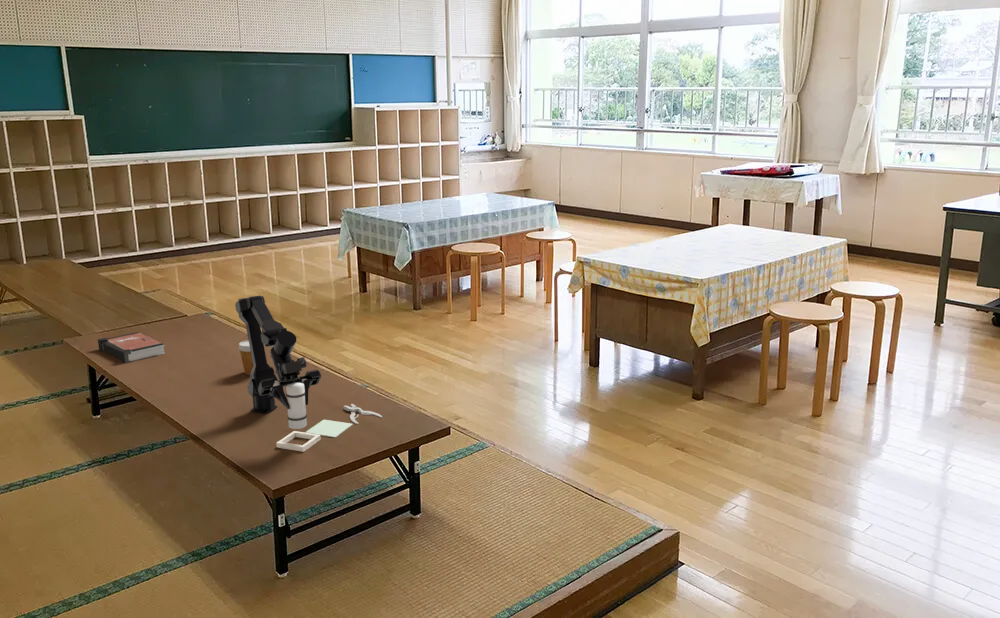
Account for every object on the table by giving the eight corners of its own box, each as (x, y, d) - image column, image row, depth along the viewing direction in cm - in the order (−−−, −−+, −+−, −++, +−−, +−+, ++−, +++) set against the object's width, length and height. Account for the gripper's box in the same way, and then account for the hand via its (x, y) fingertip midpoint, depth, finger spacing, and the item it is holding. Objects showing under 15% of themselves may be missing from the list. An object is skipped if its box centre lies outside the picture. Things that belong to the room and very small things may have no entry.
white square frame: (276, 447, 248) (276, 442, 248) (294, 435, 257) (294, 430, 257) (303, 451, 245) (303, 447, 245) (320, 439, 254) (320, 435, 253)
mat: (305, 433, 259) (305, 432, 259) (323, 420, 269) (323, 419, 269) (335, 437, 255) (335, 436, 255) (353, 424, 265) (353, 423, 265)
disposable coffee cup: (269, 368, 319) (267, 339, 316) (260, 376, 310) (257, 346, 307) (246, 367, 320) (243, 338, 317) (236, 376, 311) (233, 346, 308)
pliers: (356, 421, 265) (335, 407, 276) (357, 425, 265) (335, 412, 277) (382, 413, 271) (360, 401, 282) (383, 418, 271) (360, 405, 283)
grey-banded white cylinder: (284, 427, 248) (281, 387, 244) (295, 420, 253) (292, 381, 250) (300, 430, 246) (297, 390, 243) (310, 423, 251) (308, 383, 248)
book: (167, 354, 338) (166, 343, 337) (125, 364, 326) (124, 352, 324) (140, 341, 355) (138, 330, 354) (99, 350, 343) (97, 339, 342)
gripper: (258, 355, 241) (272, 401, 236) (317, 344, 252) (333, 388, 246) (251, 372, 250) (266, 417, 244) (309, 362, 260) (324, 404, 254)
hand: (298, 406), depth 247 cm, fingers closed on grey-banded white cylinder, 5 cm apart
